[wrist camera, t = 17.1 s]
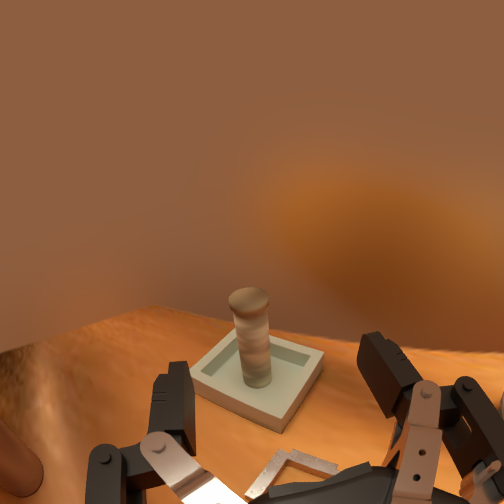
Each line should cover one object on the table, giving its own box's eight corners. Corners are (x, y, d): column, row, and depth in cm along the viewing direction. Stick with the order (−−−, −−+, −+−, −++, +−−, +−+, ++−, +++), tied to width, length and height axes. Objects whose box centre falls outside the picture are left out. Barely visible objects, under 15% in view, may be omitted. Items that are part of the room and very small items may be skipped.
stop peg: (235, 382, 42) (220, 302, 36) (252, 363, 45) (242, 284, 40) (263, 394, 39) (255, 312, 33) (279, 372, 43) (276, 291, 37)
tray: (190, 389, 42) (185, 373, 40) (240, 341, 52) (238, 324, 51) (281, 434, 33) (281, 419, 32) (322, 369, 44) (324, 352, 42)
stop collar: (241, 503, 24) (240, 499, 23) (281, 450, 31) (281, 444, 30) (313, 533, 19) (315, 531, 18) (347, 474, 26) (350, 468, 25)
